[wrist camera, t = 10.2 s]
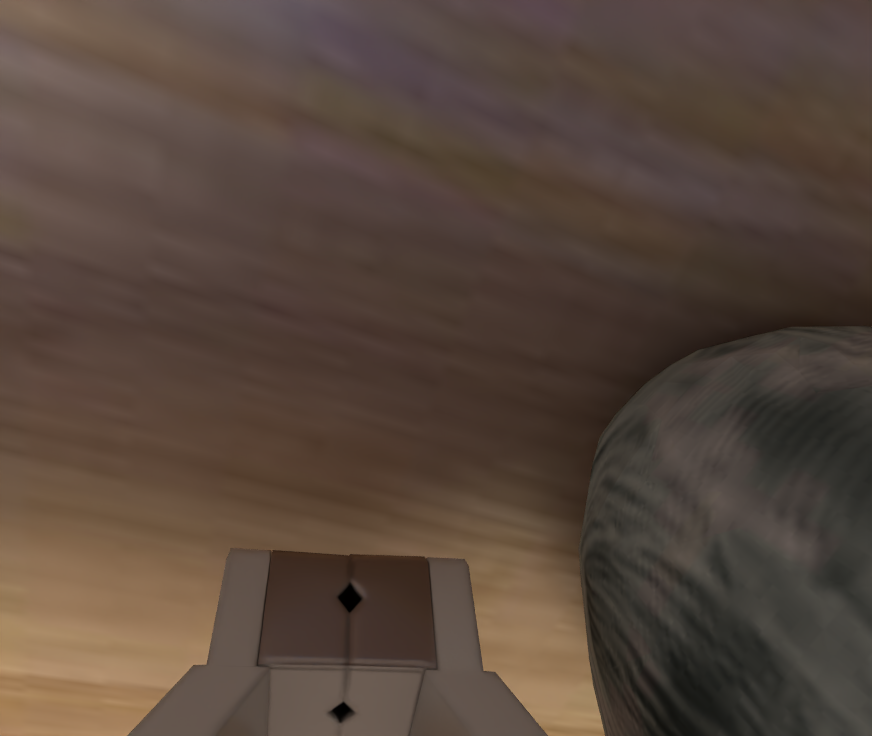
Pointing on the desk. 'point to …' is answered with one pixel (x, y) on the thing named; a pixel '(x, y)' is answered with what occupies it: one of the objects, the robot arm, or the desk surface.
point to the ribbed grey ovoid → (736, 543)
